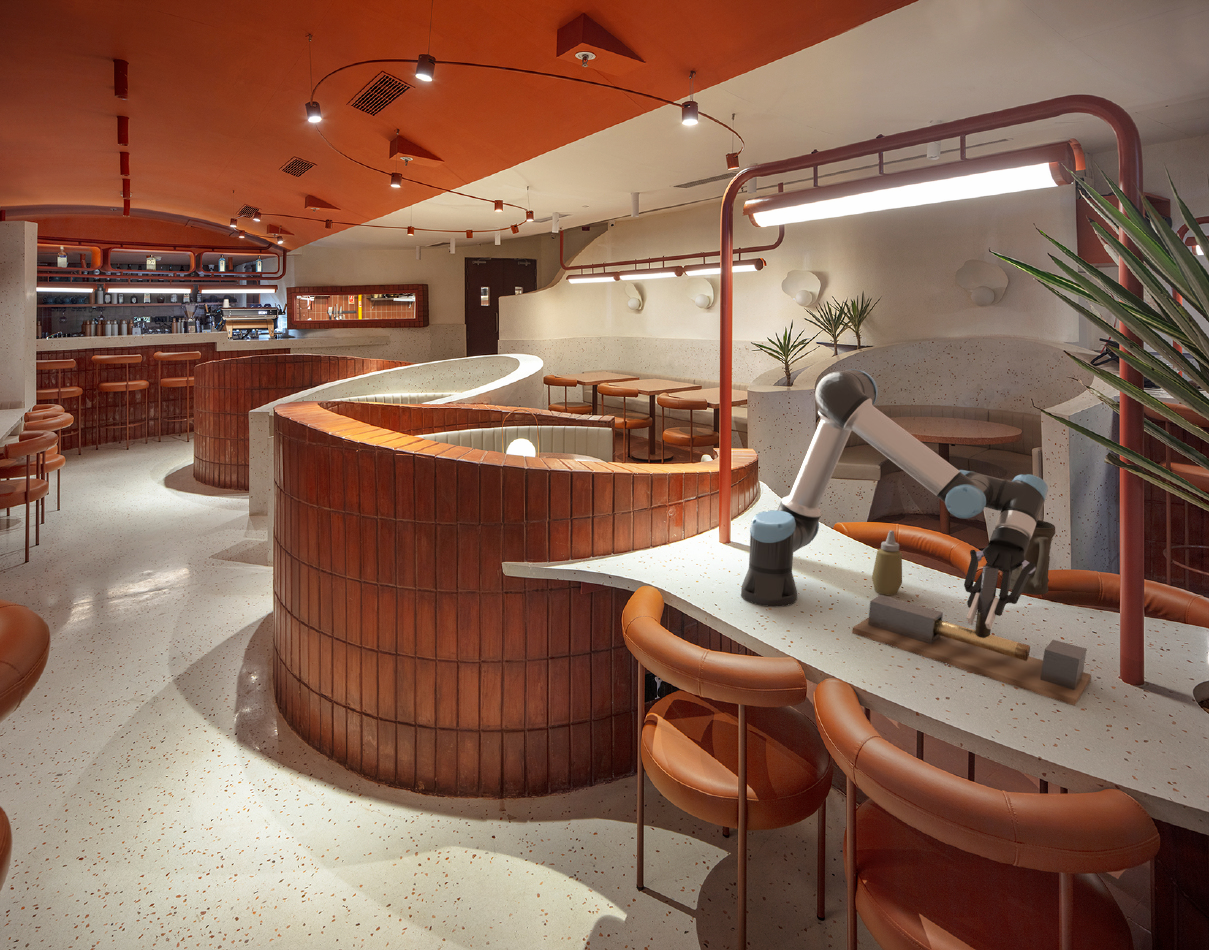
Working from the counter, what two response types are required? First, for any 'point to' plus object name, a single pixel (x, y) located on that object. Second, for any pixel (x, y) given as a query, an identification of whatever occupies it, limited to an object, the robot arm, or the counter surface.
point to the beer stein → (1037, 559)
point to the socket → (1063, 664)
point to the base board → (979, 662)
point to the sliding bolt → (981, 633)
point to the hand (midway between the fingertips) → (978, 623)
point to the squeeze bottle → (888, 567)
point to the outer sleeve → (904, 618)
